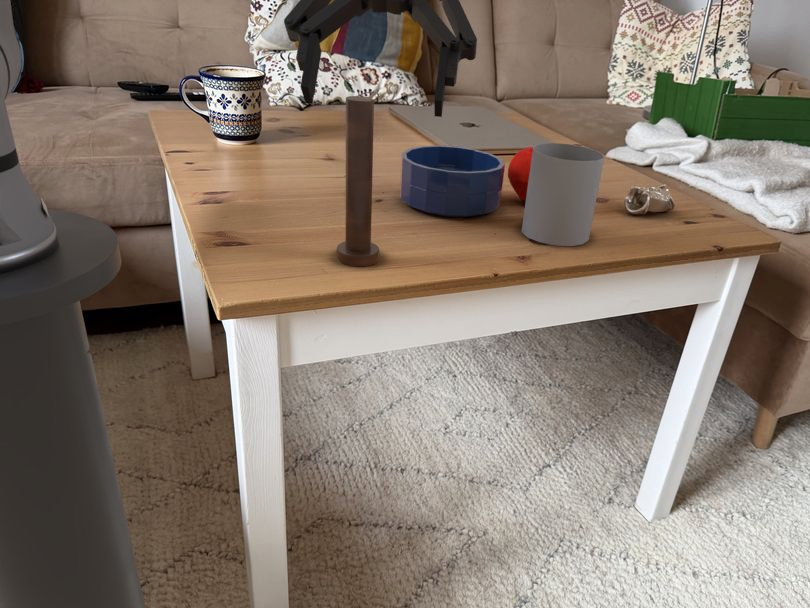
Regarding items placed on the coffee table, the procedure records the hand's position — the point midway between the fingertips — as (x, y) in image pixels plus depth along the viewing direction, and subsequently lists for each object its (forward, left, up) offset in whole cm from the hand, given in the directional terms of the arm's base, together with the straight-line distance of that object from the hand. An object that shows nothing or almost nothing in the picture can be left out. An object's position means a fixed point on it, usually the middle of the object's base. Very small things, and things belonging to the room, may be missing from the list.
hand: (372, 102), depth 69 cm
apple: (+23, +16, -15) cm, 32 cm away
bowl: (+11, +13, -15) cm, 22 cm away
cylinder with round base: (-1, -7, -15) cm, 16 cm away
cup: (+23, +3, -15) cm, 27 cm away
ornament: (+39, +14, -15) cm, 44 cm away
